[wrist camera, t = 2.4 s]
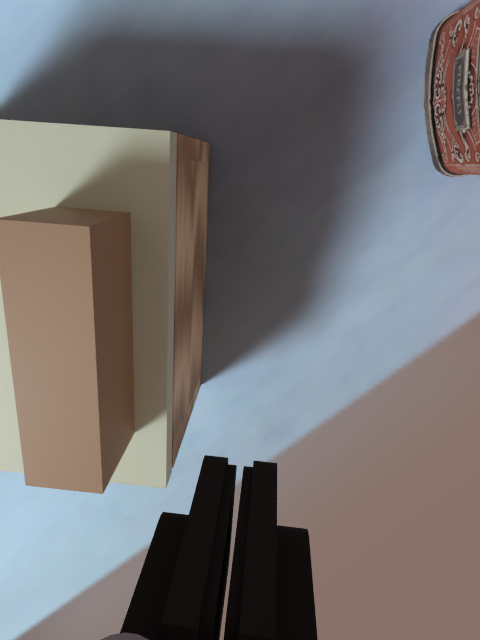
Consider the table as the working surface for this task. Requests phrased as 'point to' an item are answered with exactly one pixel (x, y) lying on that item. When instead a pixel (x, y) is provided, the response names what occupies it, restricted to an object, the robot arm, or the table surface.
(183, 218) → the wooden box
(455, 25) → the lighter
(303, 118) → the table surface
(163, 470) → the lid
